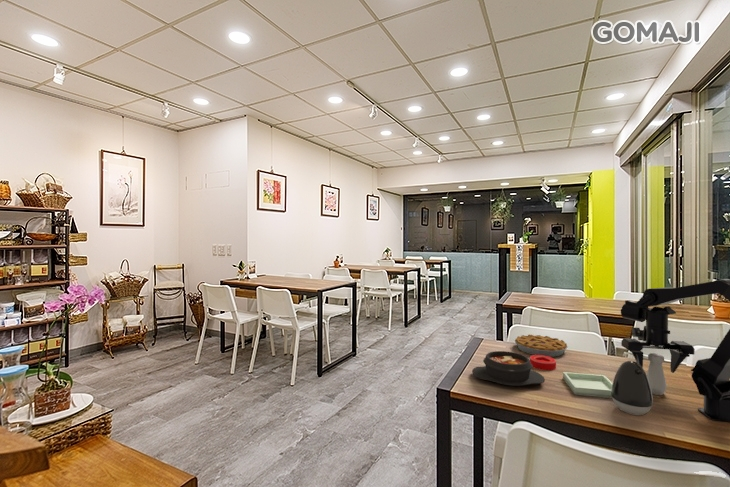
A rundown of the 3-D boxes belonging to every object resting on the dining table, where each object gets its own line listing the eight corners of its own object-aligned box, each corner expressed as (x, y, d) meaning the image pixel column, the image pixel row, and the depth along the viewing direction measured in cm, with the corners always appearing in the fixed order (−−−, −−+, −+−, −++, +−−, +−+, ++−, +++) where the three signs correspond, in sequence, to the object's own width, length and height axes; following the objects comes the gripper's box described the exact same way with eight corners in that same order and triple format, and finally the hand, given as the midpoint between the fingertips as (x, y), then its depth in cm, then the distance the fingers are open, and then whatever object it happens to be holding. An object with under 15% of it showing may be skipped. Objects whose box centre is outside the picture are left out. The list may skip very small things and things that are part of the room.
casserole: (474, 387, 125) (474, 364, 125) (470, 368, 144) (470, 347, 143) (551, 393, 120) (551, 369, 120) (537, 372, 138) (537, 351, 138)
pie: (528, 340, 181) (528, 330, 181) (575, 350, 164) (575, 340, 164) (506, 349, 167) (506, 338, 167) (555, 362, 150) (555, 350, 150)
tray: (621, 398, 116) (621, 391, 116) (575, 394, 119) (575, 387, 119) (604, 381, 129) (604, 375, 129) (562, 378, 133) (562, 372, 133)
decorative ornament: (549, 362, 150) (549, 355, 150) (560, 371, 140) (560, 363, 140) (526, 361, 151) (526, 354, 151) (534, 370, 141) (534, 362, 141)
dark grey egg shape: (621, 418, 104) (622, 366, 104) (604, 401, 114) (605, 354, 114) (661, 421, 102) (662, 368, 102) (640, 404, 112) (641, 356, 112)
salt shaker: (670, 397, 117) (671, 357, 117) (650, 395, 118) (651, 356, 118) (659, 389, 123) (660, 352, 122) (641, 388, 124) (641, 351, 124)
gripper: (675, 321, 125) (674, 365, 126) (614, 318, 130) (614, 360, 130) (696, 329, 115) (695, 377, 115) (629, 326, 119) (628, 372, 119)
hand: (656, 371), depth 120 cm, fingers open, 9 cm apart
